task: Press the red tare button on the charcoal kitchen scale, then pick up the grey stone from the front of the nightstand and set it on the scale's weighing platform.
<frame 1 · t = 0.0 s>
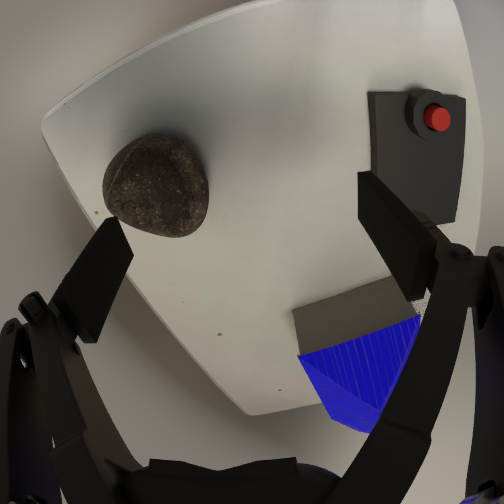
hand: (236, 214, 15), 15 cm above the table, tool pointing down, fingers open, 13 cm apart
stone: (159, 181, 30), on the table
tare button: (437, 117, 22), point 4 cm above the table, slide at 0.1 cm
scale: (417, 161, 28), on the table
house: (355, 339, 46), on the table
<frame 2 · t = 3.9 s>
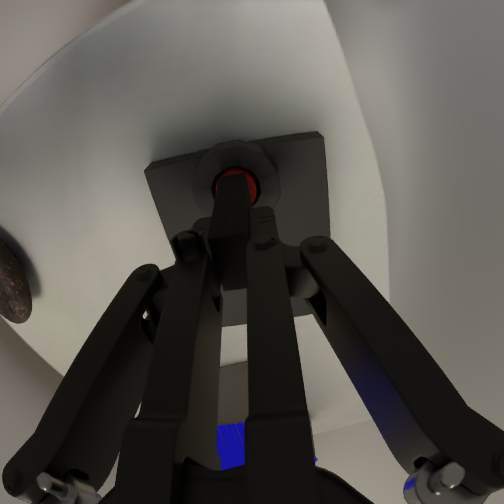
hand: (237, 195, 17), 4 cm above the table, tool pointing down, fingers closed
stone: (7, 268, 25), on the table
tare button: (236, 187, 18), point 3 cm above the table, slide at -0.6 cm, touching gripper
scale: (252, 240, 24), on the table
house: (244, 405, 42), on the table
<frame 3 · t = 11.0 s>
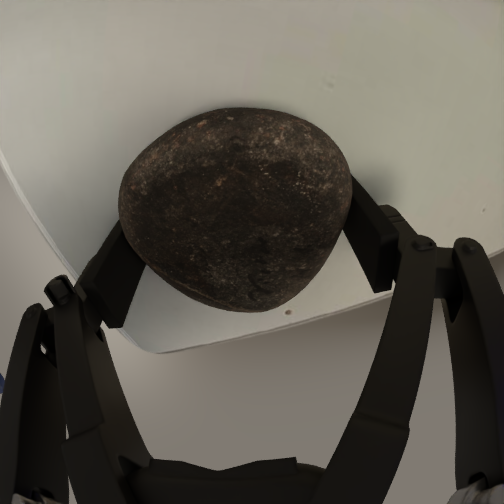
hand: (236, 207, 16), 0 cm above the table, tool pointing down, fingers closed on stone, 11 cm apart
stone: (244, 201, 16), on the table, touching gripper
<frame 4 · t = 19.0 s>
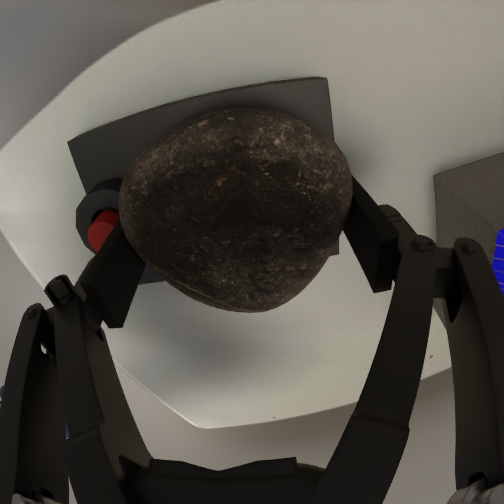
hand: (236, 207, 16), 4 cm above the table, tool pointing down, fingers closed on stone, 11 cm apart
stone: (244, 201, 16), point 3 cm above the table, touching gripper
tare button: (109, 232, 16), point 4 cm above the table, slide at 0.1 cm
scale: (209, 185, 19), on the table
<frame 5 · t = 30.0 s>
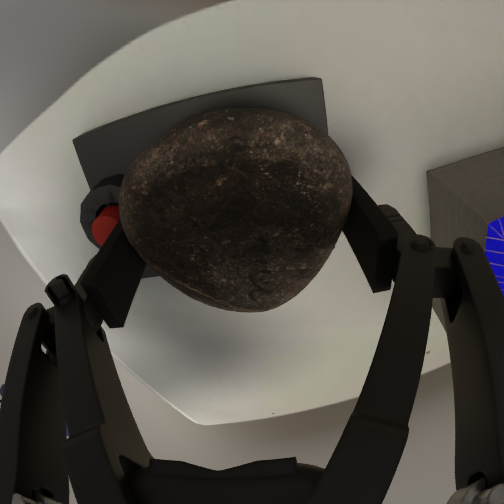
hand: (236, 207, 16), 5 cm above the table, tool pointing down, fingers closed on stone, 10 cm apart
stone: (244, 201, 16), point 4 cm above the table, touching gripper
tare button: (112, 226, 17), point 4 cm above the table, slide at 0.1 cm
scale: (209, 182, 20), on the table
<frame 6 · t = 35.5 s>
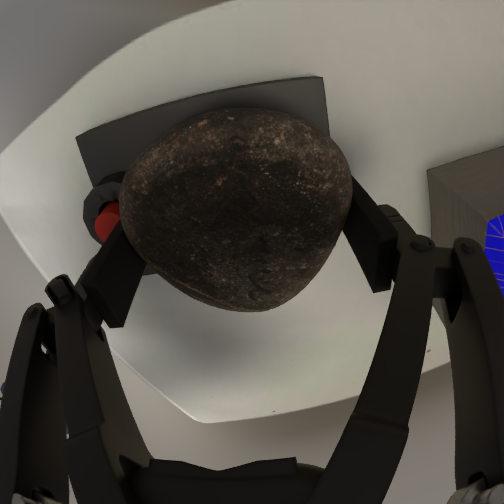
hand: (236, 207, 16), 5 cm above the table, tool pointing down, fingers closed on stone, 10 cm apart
stone: (244, 201, 16), point 4 cm above the table, touching gripper
tare button: (115, 223, 17), point 4 cm above the table, slide at 0.1 cm
scale: (211, 179, 20), on the table
when the fingers open (6 cm above the table, at t = 40.6 s): stone drops 3 cm, resting on scale.
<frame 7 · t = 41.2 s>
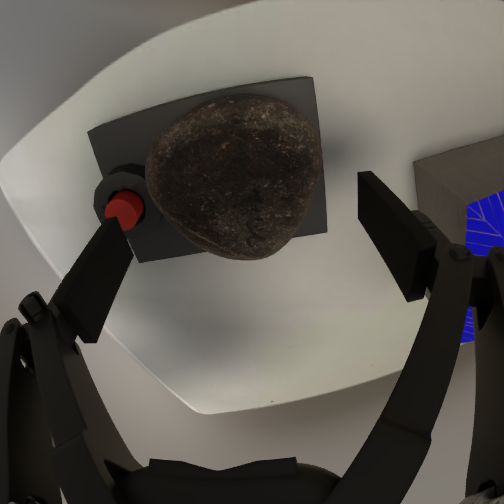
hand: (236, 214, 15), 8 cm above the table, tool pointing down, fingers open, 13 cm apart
stone: (242, 170, 20), point 2 cm above the table, touching scale
tare button: (124, 210, 19), point 4 cm above the table, slide at 0.1 cm
scale: (212, 171, 22), on the table
house: (502, 200, 23), on the table
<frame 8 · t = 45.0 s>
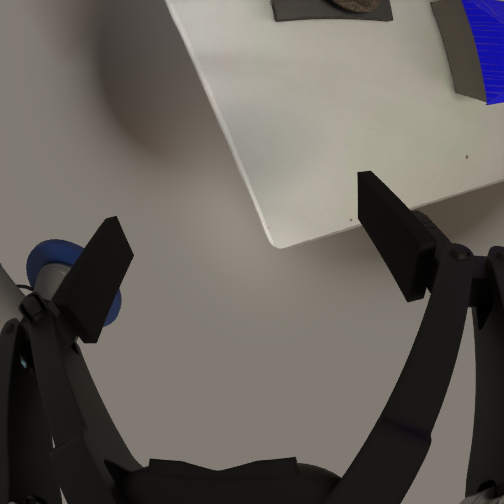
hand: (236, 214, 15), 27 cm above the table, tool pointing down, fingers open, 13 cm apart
house: (490, 45, 26), on the table
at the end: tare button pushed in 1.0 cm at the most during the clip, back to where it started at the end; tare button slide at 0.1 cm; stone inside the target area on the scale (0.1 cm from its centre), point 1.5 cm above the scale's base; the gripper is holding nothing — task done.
